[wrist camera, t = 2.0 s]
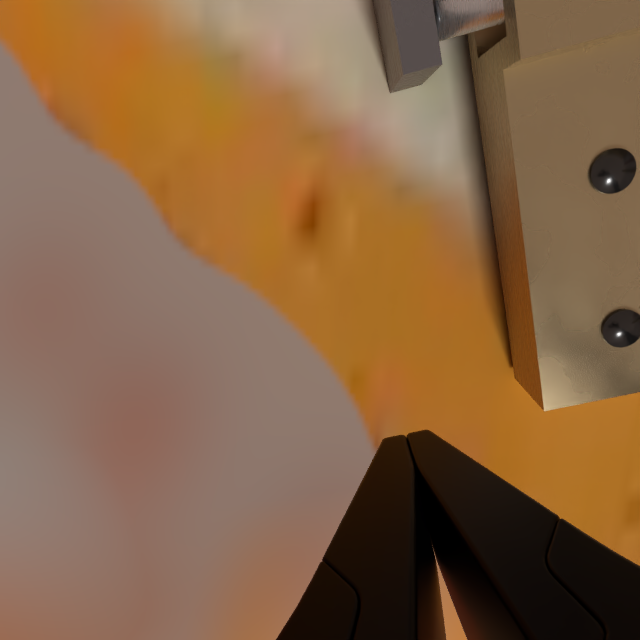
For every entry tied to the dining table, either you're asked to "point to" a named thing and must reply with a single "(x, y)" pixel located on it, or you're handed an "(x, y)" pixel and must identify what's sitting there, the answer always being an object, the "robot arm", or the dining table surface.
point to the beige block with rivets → (565, 191)
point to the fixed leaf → (426, 33)
